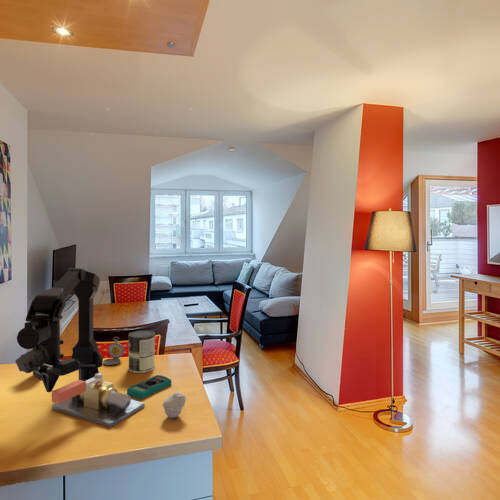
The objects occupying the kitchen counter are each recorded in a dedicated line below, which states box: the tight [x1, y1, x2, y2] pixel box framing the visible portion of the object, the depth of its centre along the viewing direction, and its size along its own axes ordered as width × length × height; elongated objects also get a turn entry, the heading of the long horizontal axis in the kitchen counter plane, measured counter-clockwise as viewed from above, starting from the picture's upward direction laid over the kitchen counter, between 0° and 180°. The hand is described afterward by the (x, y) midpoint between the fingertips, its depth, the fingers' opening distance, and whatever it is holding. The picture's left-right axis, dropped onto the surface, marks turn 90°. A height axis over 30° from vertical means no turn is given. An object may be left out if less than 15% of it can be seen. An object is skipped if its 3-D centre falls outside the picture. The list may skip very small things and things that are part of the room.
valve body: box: [51, 379, 146, 428], centre depth 115 cm, size 24×14×8 cm, turn 65°
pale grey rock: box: [162, 391, 187, 419], centre depth 110 cm, size 6×7×7 cm
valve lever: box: [51, 372, 104, 404], centre depth 108 cm, size 16×3×3 cm, turn 155°
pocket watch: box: [102, 336, 125, 366], centre depth 155 cm, size 8×8×10 cm
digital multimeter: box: [126, 374, 172, 400], centre depth 129 cm, size 7×15×3 cm, turn 149°
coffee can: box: [128, 329, 156, 374], centre depth 149 cm, size 10×10×14 cm
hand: (49, 391), depth 107 cm, fingers closed
